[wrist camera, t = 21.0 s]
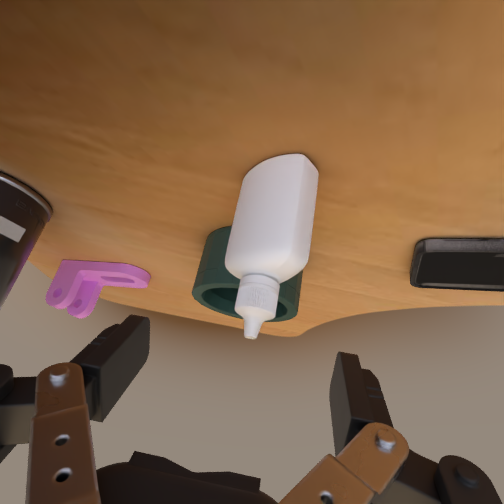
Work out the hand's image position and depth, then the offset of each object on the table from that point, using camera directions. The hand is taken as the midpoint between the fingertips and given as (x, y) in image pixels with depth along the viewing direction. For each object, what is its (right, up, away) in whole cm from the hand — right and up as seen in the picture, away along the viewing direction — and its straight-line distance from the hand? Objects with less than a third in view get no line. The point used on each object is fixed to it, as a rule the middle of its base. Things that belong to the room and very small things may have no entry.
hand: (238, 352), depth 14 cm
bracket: (-20, +2, +36) cm, 42 cm away
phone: (+23, +4, +15) cm, 27 cm away
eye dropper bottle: (+3, +10, +10) cm, 15 cm away
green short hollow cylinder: (+1, +4, +22) cm, 23 cm away
